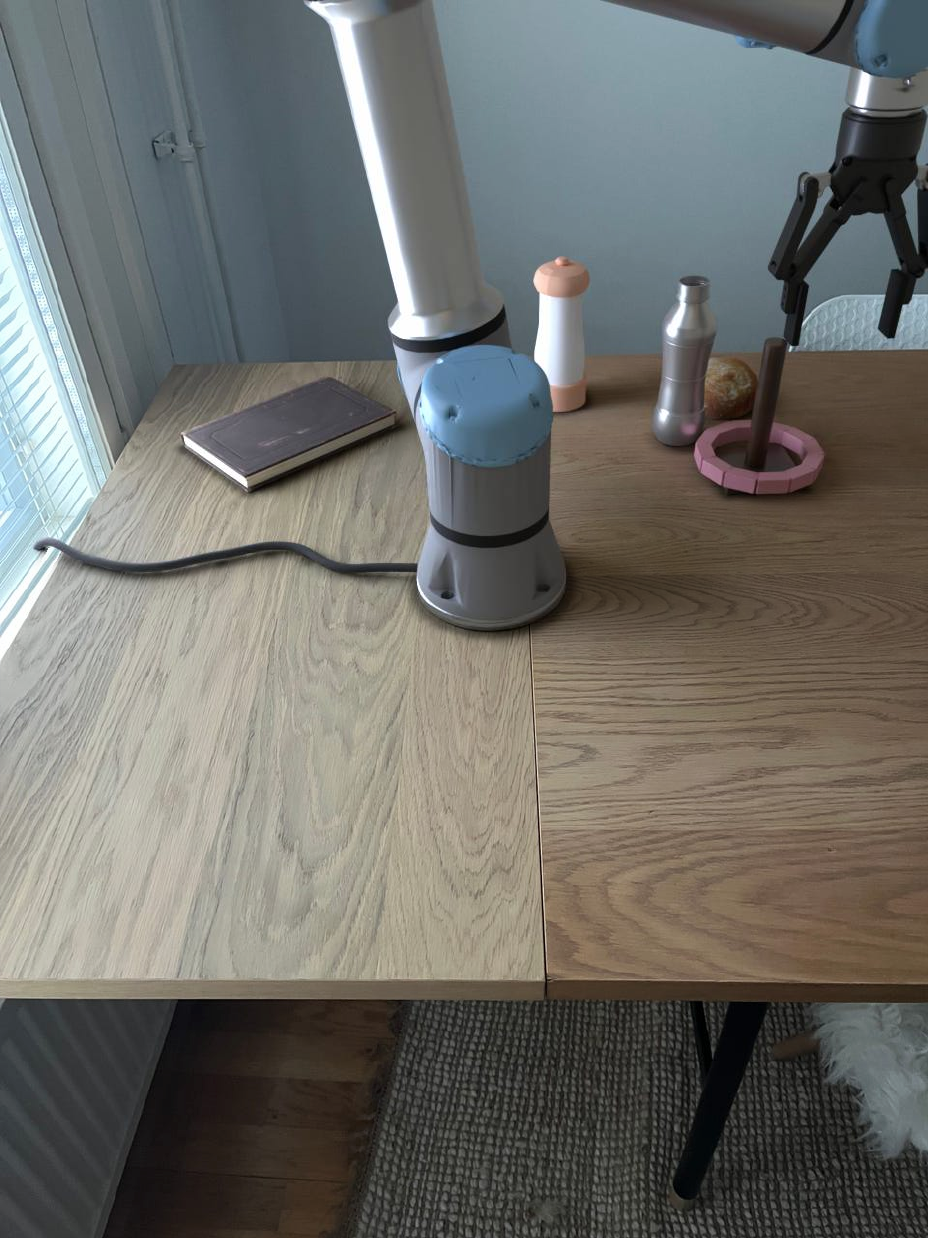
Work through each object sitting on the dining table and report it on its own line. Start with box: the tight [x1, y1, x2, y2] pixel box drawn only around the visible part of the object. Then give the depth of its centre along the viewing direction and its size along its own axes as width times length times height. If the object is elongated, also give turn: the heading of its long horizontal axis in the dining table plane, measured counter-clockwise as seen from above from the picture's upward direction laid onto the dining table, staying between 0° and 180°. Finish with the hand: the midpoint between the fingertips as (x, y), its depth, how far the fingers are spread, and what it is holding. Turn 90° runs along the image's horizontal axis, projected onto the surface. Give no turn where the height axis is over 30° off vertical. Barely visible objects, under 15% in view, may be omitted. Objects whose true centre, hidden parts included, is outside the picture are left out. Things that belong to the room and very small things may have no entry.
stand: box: [714, 336, 805, 496], centre depth 108 cm, size 9×9×16 cm
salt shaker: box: [533, 255, 591, 413], centre depth 123 cm, size 7×7×19 cm
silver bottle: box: [651, 274, 718, 447], centre depth 113 cm, size 6×7×20 cm
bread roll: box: [704, 356, 758, 420], centre depth 125 cm, size 10×10×8 cm
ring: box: [693, 419, 825, 495], centre depth 112 cm, size 14×14×2 cm
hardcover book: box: [180, 375, 399, 493], centre depth 123 cm, size 16×23×2 cm
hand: (838, 337), depth 102 cm, fingers open, 10 cm apart
